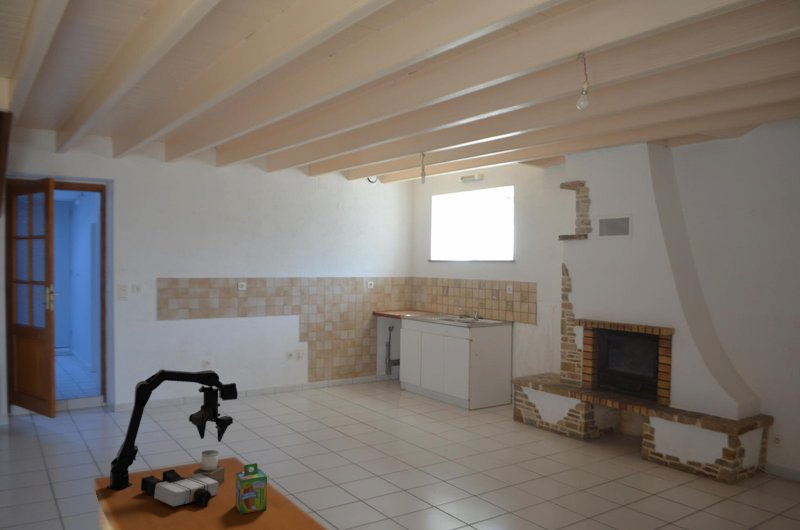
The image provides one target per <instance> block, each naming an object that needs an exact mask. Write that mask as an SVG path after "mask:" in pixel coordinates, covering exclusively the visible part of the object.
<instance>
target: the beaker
mask: <svg viewBox="0 0 800 530" xmlns="http://www.w3.org/2000/svg"><path fill="white" fill-rule="evenodd" d="M219 454H220V452H219V451H217V450H214V449H211V450H210V449H209V450H204V451H201V464H200V468H201V469H202V470H204V471H212V470H216V469H217V466H219V465H218V461H219Z"/></svg>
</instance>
